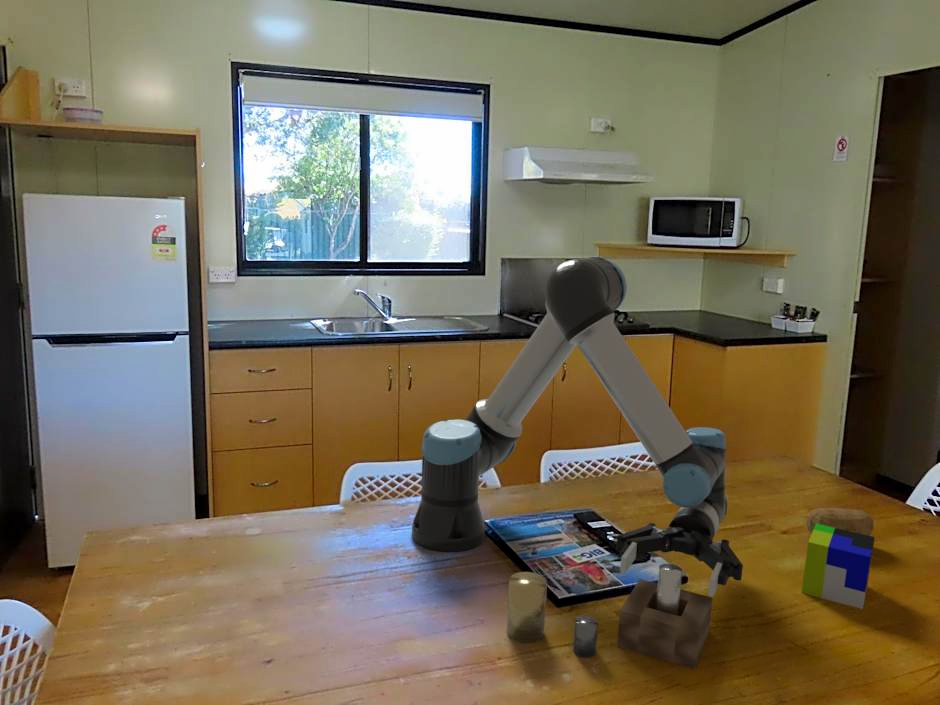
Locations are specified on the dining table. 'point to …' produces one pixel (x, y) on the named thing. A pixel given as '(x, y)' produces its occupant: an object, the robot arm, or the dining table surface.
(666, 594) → the steel roller
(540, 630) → the fat brass roller
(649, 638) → the walnut block
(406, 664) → the dining table surface
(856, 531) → the potato
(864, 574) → the puzzle toy
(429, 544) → the robot arm
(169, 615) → the dining table surface
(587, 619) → the short dark roller
